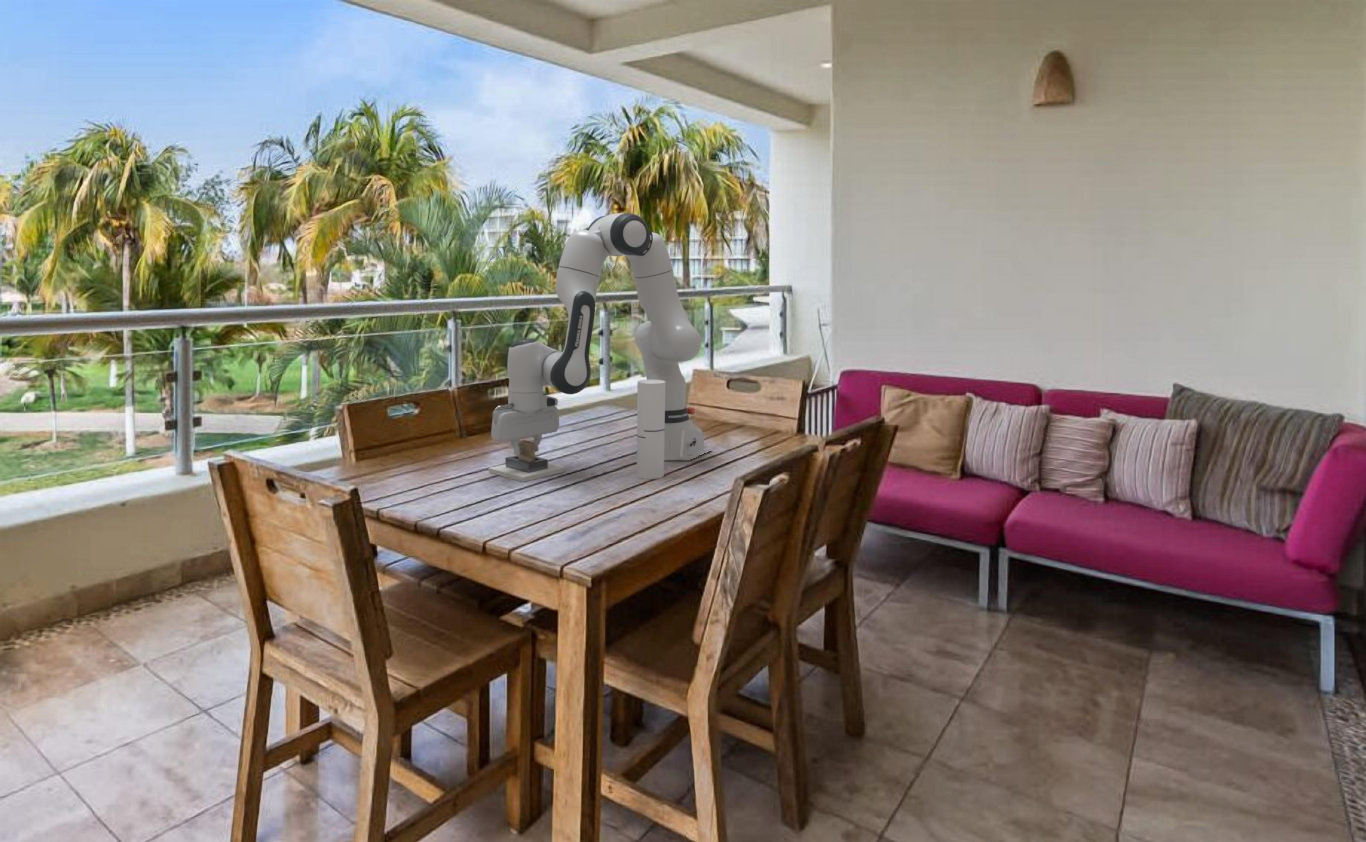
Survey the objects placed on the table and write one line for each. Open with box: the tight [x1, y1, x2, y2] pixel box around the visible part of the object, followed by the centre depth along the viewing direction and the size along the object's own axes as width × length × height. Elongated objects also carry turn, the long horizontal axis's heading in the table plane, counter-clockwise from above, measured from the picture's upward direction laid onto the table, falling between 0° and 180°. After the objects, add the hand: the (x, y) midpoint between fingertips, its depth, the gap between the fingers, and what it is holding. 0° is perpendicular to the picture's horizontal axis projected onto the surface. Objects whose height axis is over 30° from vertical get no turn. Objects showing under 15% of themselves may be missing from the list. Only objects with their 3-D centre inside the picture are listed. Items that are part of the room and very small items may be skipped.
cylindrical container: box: [636, 379, 665, 480], centre depth 212 cm, size 7×7×25 cm
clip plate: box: [488, 463, 565, 483], centre depth 215 cm, size 14×14×1 cm
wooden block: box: [518, 439, 536, 462], centre depth 214 cm, size 2×4×7 cm, turn 50°
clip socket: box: [504, 455, 549, 473], centre depth 215 cm, size 6×9×2 cm
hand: (526, 453), depth 214 cm, fingers open, 4 cm apart
